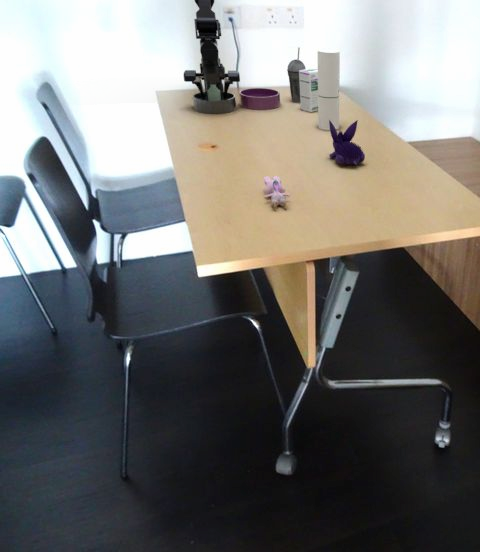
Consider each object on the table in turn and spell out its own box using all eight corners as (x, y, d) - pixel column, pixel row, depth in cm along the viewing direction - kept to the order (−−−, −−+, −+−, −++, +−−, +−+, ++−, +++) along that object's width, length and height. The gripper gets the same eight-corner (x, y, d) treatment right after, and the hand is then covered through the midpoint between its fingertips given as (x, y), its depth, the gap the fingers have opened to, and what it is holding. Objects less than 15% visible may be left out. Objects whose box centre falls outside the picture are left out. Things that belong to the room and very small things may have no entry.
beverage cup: (286, 99, 226) (283, 45, 216) (303, 98, 229) (302, 45, 218) (291, 103, 220) (289, 49, 210) (309, 102, 223) (308, 49, 213)
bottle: (206, 109, 205) (203, 81, 200) (214, 106, 208) (211, 79, 203) (216, 111, 203) (213, 83, 198) (224, 108, 207) (221, 81, 202)
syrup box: (311, 112, 211) (310, 72, 204) (299, 109, 214) (298, 69, 207) (321, 110, 215) (321, 70, 208) (310, 106, 218) (309, 67, 211)
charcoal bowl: (185, 111, 202) (183, 96, 200) (213, 103, 214) (211, 89, 211) (218, 118, 198) (217, 103, 195) (244, 109, 209) (243, 95, 207)
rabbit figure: (293, 213, 137) (282, 181, 148) (293, 192, 133) (282, 161, 144) (267, 215, 135) (258, 183, 146) (266, 194, 131) (257, 162, 142)
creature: (347, 149, 177) (347, 110, 170) (370, 169, 163) (372, 127, 157) (320, 152, 173) (319, 112, 167) (342, 172, 159) (342, 129, 153)
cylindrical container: (340, 125, 199) (341, 49, 186) (337, 131, 193) (337, 53, 180) (320, 123, 199) (320, 48, 187) (316, 129, 193) (315, 51, 181)
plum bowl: (232, 107, 211) (231, 93, 208) (256, 99, 222) (255, 86, 220) (265, 113, 206) (264, 99, 203) (287, 105, 218) (287, 91, 215)
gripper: (180, 59, 187) (186, 106, 195) (238, 59, 192) (242, 106, 200) (181, 53, 196) (187, 98, 204) (237, 53, 201) (241, 98, 209)
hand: (214, 100), depth 204 cm, fingers open, 7 cm apart
